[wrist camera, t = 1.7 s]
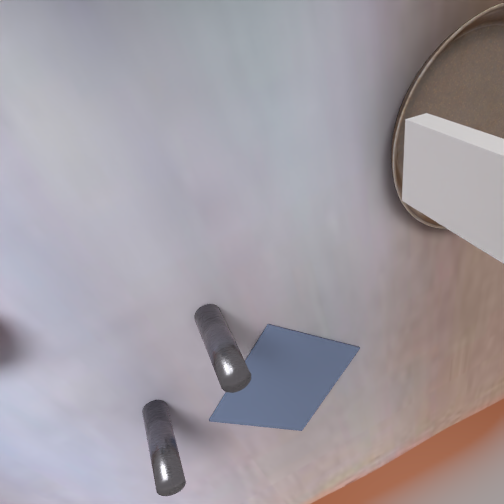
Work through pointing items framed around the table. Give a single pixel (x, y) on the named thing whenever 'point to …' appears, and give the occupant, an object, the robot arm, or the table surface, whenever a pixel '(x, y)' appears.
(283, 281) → the table surface
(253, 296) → the table surface
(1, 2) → the table surface
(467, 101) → the plant saucer
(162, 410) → the post
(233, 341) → the post
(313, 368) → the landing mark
